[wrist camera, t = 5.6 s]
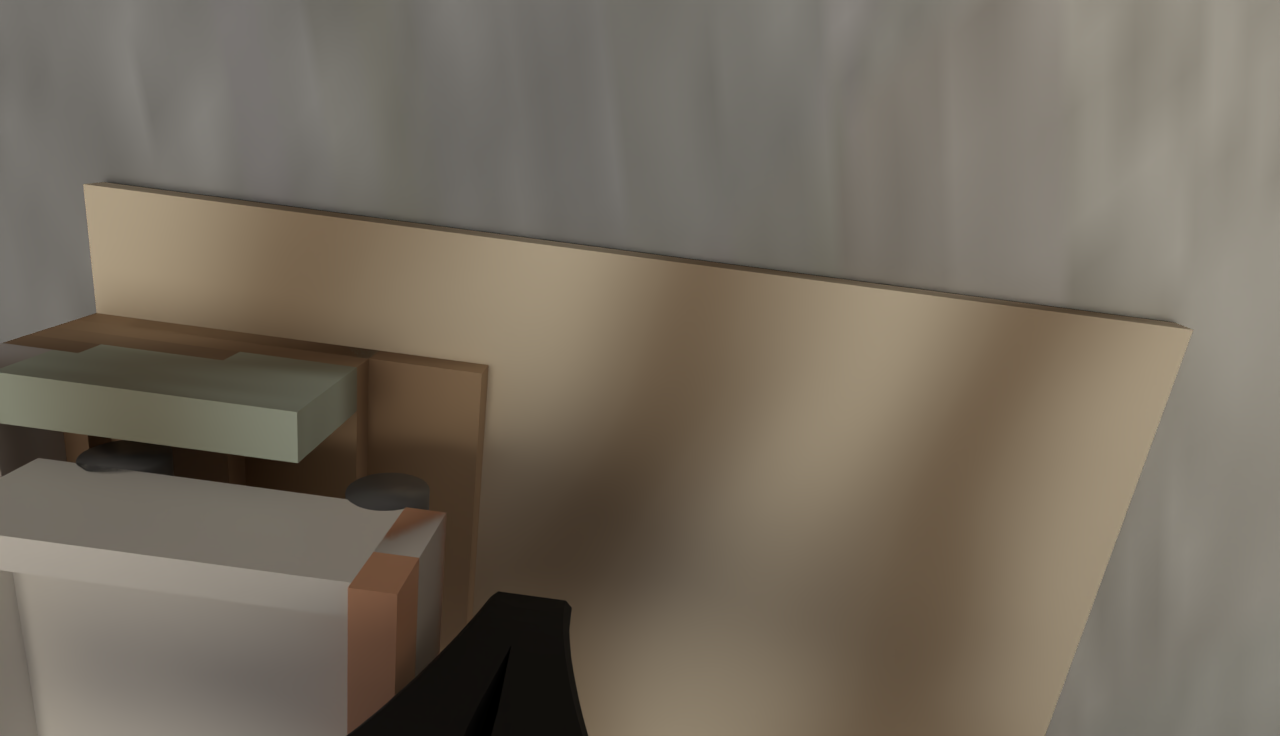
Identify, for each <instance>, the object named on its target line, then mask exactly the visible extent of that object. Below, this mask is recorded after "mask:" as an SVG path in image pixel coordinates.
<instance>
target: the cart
mask: <svg viewBox="0 0 1280 736" xmlns="http://www.w3.org/2000/svg"><path fill="white" fill-rule="evenodd" d="M429 497H430V488H429V486H428V484H427V483H426V482H425V481H424V480H422V479H420V478H418V477H416V476H413V475H409V474H404V473H378V474H372V475H368V476H365V477H362V478H359V479H357V480H355V481H354V482H352V483H351V484H350V485H349V486H348V487H347V489H346V492H345V499H341V498H333V497H326V496H319V495H311V494H304V493H296V492H289V491H281V490H274V489H266V488H259V487H251V486H244V485H236V484H229V483H222V482H214V481H207V480H199V479H192V478H184V477H177V476H174V467H173V454H172V448H171V447H170V446H166V445H159V444H151V443H144V442H136V441H129V440H119V441H113V442H108V443H104V444H101V445H98V446H95V447H92V448H90V449H88V450H86V451H84V452H83V453H81V454H80V455H79V456H78V457H77V459H76V463H72V462H65V461H57V460H50V459H42V458H37V459H35V460H33V461H31V462H29V463H28V464H26V465H24V466H22V467H20V468H18V469H16V470H14V471H12V472H10V473H8V474H6V475H4V476H2V477H0V736H347V735H348V734H349V733H351V732H352V731H353V730H354V729H356V728H357V727H358V726H360V725H361V724H362V723H363V722H365V721H366V720H367V719H368V718H369V717H371V716H372V715H373V714H374V713H376V712H377V711H378V710H379V709H380V708H381V707H383V706H384V705H385V704H386V703H387V702H388V701H389V700H390V699H392V698H393V697H394V696H395V695H396V694H397V693H398V692H399V691H401V690H402V689H403V688H404V687H405V686H406V685H407V684H408V683H409V682H411V681H412V680H413V679H414V678H415V677H416V676H417V675H418V674H419V673H420V672H421V671H422V670H423V669H424V668H425V667H426V666H427V665H428V664H429V663H430V662H431V661H432V660H433V659H434V658H435V657H436V656H437V655H438V654H439V653H440V634H441V613H442V593H443V572H444V552H445V531H446V513H445V512H438V511H430V510H429Z"/></svg>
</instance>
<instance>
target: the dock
mask: <svg viewBox="0 0 1280 736" xmlns="http://www.w3.org/2000/svg"><path fill="white" fill-rule="evenodd" d="M83 186H84V195H85V205H86V215H87V224H88V234H89V243H90V253H91V263H92V272H93V282H94V291H95V301H96V310H97V313H95V314H92V315H89V316H86V317H83V318H80V319H77V320H73V321H70V322H67V323H64V324H61V325H58V326H55V327H51V328H48V329H45V330H42V331H39V332H36V333H33V334H29V335H26V336H23V337H20V338H17V339H14V340H11V341H7V342H4V343H1V344H0V477H2V476H4V475H6V474H8V473H10V472H12V471H14V470H16V469H18V468H20V467H22V466H24V465H26V464H28V463H29V462H31V461H33V460H35V459H37V458H42V459H50V460H57V461H65V462H72V463H76V459H77V457H78V456H79V455H80V454H81V453H83V452H84V451H86V450H88V449H90V448H92V447H95V446H98V445H101V444H104V443H108V442H113V441H119V440H129V441H136V442H144V443H151V444H159V445H166V446H170V447H171V448H172V454H173V467H174V476H177V477H184V478H192V479H199V480H207V481H214V482H222V483H229V484H236V485H244V486H251V487H259V488H266V489H274V490H281V491H289V492H296V493H304V494H311V495H319V496H326V497H333V498H341V499H345V492H346V489H347V487H348V486H349V485H350V484H351V483H352V482H354V481H355V480H357V479H359V478H362V477H365V476H368V475H372V474H378V473H404V474H409V475H413V476H416V477H418V478H420V479H422V480H424V481H425V482H426V483H427V484H428V486H429V488H430V497H429V510H430V511H438V512H445V513H446V531H445V552H444V572H443V593H442V613H441V634H440V652H441V651H442V650H443V649H444V648H445V647H446V646H447V645H448V644H449V643H450V642H451V641H452V640H453V639H454V638H455V637H456V636H457V635H458V634H459V633H460V632H461V630H462V629H463V628H464V627H465V626H466V625H467V624H468V623H469V622H470V621H471V619H472V618H473V617H474V616H475V615H476V614H477V612H478V611H479V610H480V609H481V608H482V607H483V605H484V604H485V603H486V602H487V600H488V599H489V598H490V597H491V596H492V595H494V594H495V593H496V592H498V591H500V592H507V593H514V594H522V595H529V596H536V597H544V598H551V599H558V600H566V601H567V602H568V604H569V605H570V606H571V607H572V612H571V620H570V629H569V632H570V648H571V658H572V665H573V672H574V677H575V682H576V687H577V692H578V697H579V702H580V706H581V710H582V714H583V718H584V722H585V726H586V729H587V733H588V736H1045V734H1046V732H1047V729H1048V726H1049V723H1050V721H1051V718H1052V715H1053V712H1054V710H1055V707H1056V704H1057V702H1058V699H1059V696H1060V693H1061V691H1062V688H1063V685H1064V682H1065V680H1066V677H1067V674H1068V671H1069V669H1070V666H1071V663H1072V660H1073V658H1074V655H1075V652H1076V649H1077V647H1078V644H1079V641H1080V639H1081V636H1082V633H1083V630H1084V628H1085V625H1086V622H1087V619H1088V617H1089V614H1090V611H1091V608H1092V606H1093V603H1094V600H1095V597H1096V595H1097V592H1098V589H1099V587H1100V584H1101V581H1102V578H1103V576H1104V573H1105V570H1106V567H1107V565H1108V562H1109V559H1110V556H1111V554H1112V551H1113V548H1114V545H1115V543H1116V540H1117V537H1118V535H1119V532H1120V529H1121V526H1122V524H1123V521H1124V518H1125V515H1126V513H1127V510H1128V507H1129V504H1130V502H1131V499H1132V496H1133V493H1134V491H1135V488H1136V485H1137V482H1138V480H1139V477H1140V474H1141V472H1142V469H1143V466H1144V463H1145V461H1146V458H1147V455H1148V452H1149V450H1150V447H1151V444H1152V441H1153V439H1154V436H1155V433H1156V430H1157V428H1158V425H1159V422H1160V420H1161V417H1162V414H1163V411H1164V409H1165V406H1166V403H1167V400H1168V398H1169V395H1170V392H1171V389H1172V387H1173V384H1174V381H1175V378H1176V376H1177V373H1178V370H1179V368H1180V365H1181V362H1182V359H1183V357H1184V354H1185V351H1186V348H1187V346H1188V343H1189V340H1190V337H1191V335H1192V332H1193V330H1192V329H1189V328H1187V327H1184V326H1182V325H1179V324H1177V323H1173V322H1165V321H1158V320H1150V319H1143V318H1135V317H1127V316H1120V315H1112V314H1104V313H1097V312H1089V311H1082V310H1074V309H1066V308H1059V307H1051V306H1044V305H1036V304H1028V303H1021V302H1013V301H1005V300H998V299H990V298H983V297H975V296H967V295H960V294H952V293H945V292H937V291H929V290H922V289H914V288H906V287H899V286H891V285H884V284H876V283H868V282H861V281H853V280H846V279H838V278H830V277H823V276H815V275H807V274H800V273H792V272H785V271H777V270H769V269H762V268H754V267H747V266H739V265H731V264H724V263H716V262H708V261H701V260H693V259H686V258H678V257H670V256H663V255H655V254H648V253H640V252H632V251H625V250H617V249H609V248H602V247H594V246H587V245H579V244H571V243H564V242H556V241H549V240H541V239H533V238H526V237H518V236H510V235H503V234H495V233H488V232H480V231H472V230H465V229H457V228H449V227H442V226H434V225H427V224H419V223H411V222H404V221H396V220H389V219H381V218H373V217H366V216H358V215H350V214H343V213H335V212H328V211H320V210H312V209H305V208H297V207H290V206H282V205H274V204H267V203H259V202H251V201H244V200H236V199H229V198H221V197H213V196H206V195H198V194H191V193H183V192H175V191H168V190H160V189H152V188H145V187H137V186H130V185H122V184H114V183H107V182H101V183H91V184H83Z"/></svg>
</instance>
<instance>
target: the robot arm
mask: <svg viewBox="0 0 1280 736" xmlns="http://www.w3.org/2000/svg"><path fill="white" fill-rule="evenodd" d="M571 612H572V607H571V606H570V605H569V604H568V602H567V601H566V600H558V599H551V598H544V597H536V596H529V595H522V594H514V593H507V592H500V591H498V592H496V593H495V594H494V595H492V596H491V597H490V598H489V599H488V600H487V602H486V603H485V604H484V605H483V607H482V608H481V609H480V610H479V611H478V612H477V614H476V615H475V616H474V617H473V618H472V619H471V621H470V622H469V623H468V624H467V625H466V626H465V627H464V628H463V629H462V630H461V632H460V633H459V634H458V635H457V636H456V637H455V638H454V639H453V640H452V641H451V642H450V643H449V644H448V645H447V646H446V647H445V648H444V649H443V650H442V651H441V652H440V653H439V654H438V655H437V656H436V657H435V658H434V659H433V660H432V661H431V662H430V663H429V664H428V665H427V666H426V667H425V668H424V669H423V670H422V671H421V672H420V673H419V674H418V675H417V676H416V677H415V678H414V679H413V680H412V681H411V682H409V683H408V684H407V685H406V686H405V687H404V688H403V689H402V690H401V691H399V692H398V693H397V694H396V695H395V696H394V697H393V698H392V699H390V700H389V701H388V702H387V703H386V704H385V705H384V706H383V707H381V708H380V709H379V710H378V711H377V712H376V713H374V714H373V715H372V716H371V717H369V718H368V719H367V720H366V721H365V722H363V723H362V724H361V725H360V726H358V727H357V728H356V729H354V730H353V731H352V732H351V733H349V734H348V735H347V736H588V733H587V729H586V726H585V722H584V718H583V714H582V710H581V706H580V702H579V697H578V692H577V687H576V682H575V677H574V672H573V665H572V658H571V648H570V632H569V629H570V620H571Z"/></svg>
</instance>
